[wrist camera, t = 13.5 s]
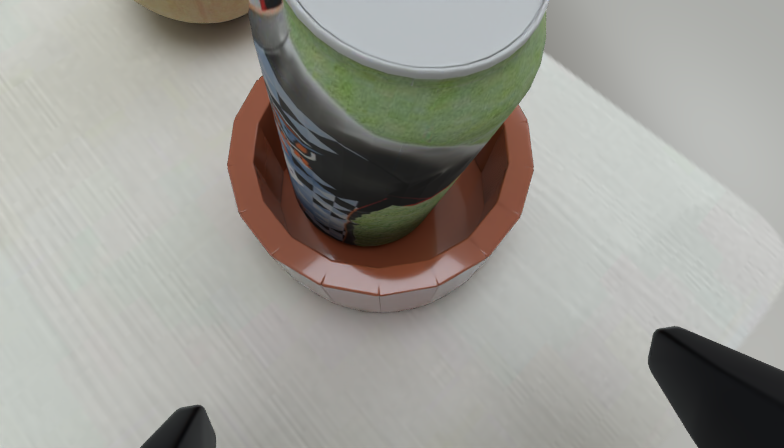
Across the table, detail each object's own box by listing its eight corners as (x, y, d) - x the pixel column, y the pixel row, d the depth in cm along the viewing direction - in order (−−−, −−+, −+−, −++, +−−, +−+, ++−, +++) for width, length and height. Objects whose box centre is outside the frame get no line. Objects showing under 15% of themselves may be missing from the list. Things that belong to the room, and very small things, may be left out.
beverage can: (333, 111, 19) (258, -247, 8) (482, 162, 19) (628, -158, 7) (273, 228, 18) (63, -30, 6) (436, 291, 17) (539, 126, 5)
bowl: (548, 235, 18) (597, 194, 14) (330, 363, 16) (310, 361, 12) (423, 64, 21) (431, -13, 17) (227, 156, 19) (181, 96, 15)
